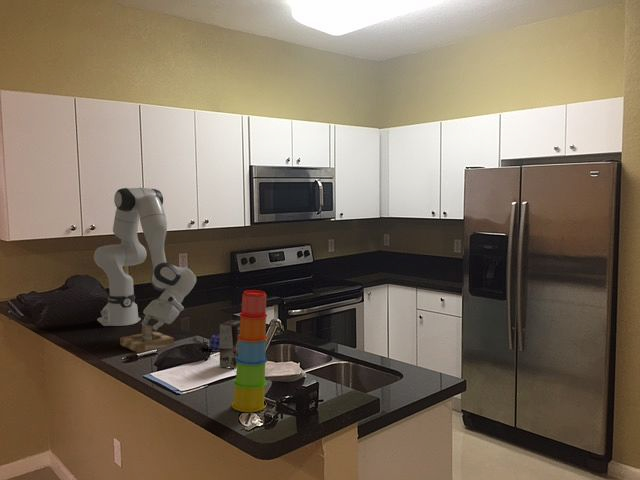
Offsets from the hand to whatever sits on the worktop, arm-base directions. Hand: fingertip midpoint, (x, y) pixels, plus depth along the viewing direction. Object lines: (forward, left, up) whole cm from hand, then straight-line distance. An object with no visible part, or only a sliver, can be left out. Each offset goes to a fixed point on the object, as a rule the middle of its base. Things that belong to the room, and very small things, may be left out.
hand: (148, 327), depth 225 cm
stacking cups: (+83, -11, -8) cm, 84 cm away
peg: (0, -1, -7) cm, 7 cm away
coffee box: (+47, +9, -8) cm, 49 cm away
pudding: (+24, +18, -8) cm, 31 cm away
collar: (0, -1, -7) cm, 7 cm away
